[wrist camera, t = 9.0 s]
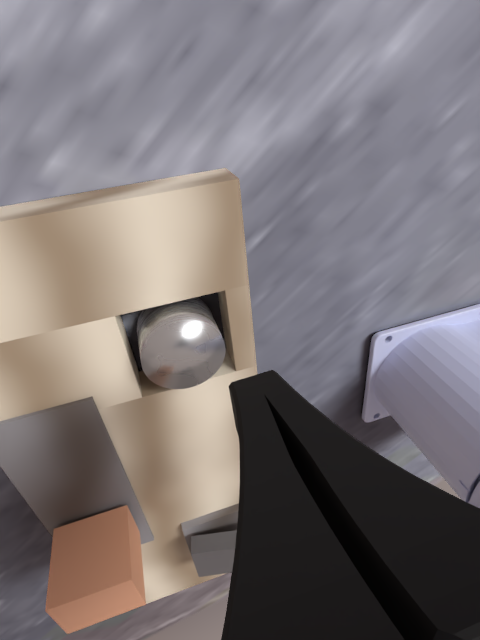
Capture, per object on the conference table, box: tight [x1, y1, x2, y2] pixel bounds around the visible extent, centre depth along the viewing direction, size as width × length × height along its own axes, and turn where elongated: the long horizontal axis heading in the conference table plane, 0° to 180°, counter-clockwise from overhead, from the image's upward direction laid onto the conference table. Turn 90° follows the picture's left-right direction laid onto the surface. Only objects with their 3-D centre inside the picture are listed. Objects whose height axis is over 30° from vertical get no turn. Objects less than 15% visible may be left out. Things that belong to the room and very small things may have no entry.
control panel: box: [0, 168, 257, 604], centre depth 22 cm, size 13×30×2 cm, turn 6°
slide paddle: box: [45, 505, 146, 634], centre depth 21 cm, size 4×3×4 cm
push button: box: [137, 297, 226, 389], centre depth 18 cm, size 4×4×2 cm
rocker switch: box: [191, 530, 237, 577], centre depth 25 cm, size 4×3×1 cm
